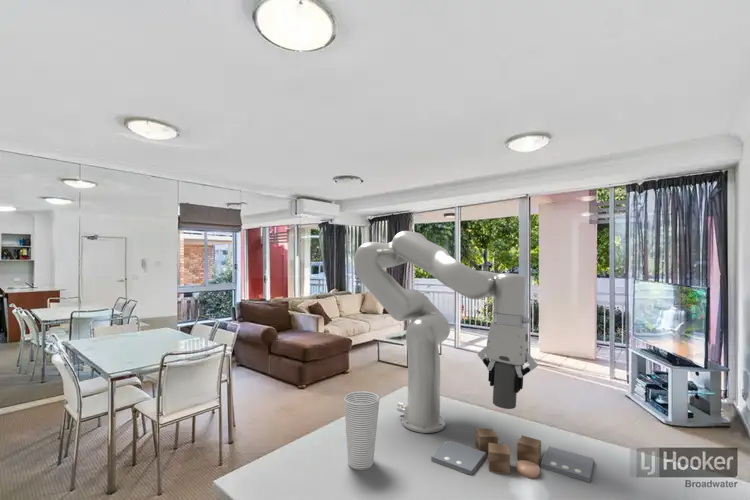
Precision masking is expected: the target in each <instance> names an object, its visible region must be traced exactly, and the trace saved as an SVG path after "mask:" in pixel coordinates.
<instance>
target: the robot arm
mask: <svg viewBox="0 0 750 500" xmlns="http://www.w3.org/2000/svg"><path fill="white" fill-rule="evenodd" d="M353 259H354V260H353V265H354V267H353V268H354V271H355V273H356V276H357V277H358V279H359V281H360V282H361V283H362V285H364V287H365V288H366V289H368V291H369V292H370V293H371V294H372V295H373V297H374V298H375V299H376V300H377V301H378V302H379V304H380V305H381V307H383V309H385V311H386V312H387V313H388V314H389V316H390V317H392V318H393V320H395V321H397V322H406V321H409V320H410V323H409V324H408V326H407V327H406V331H405V341H406V347H407V348H406V349H407V404H406V403H405V402H401V401H399V402H398V403H397V408H396V410H397V412H399V413H403V416H402V420H401V421H402V422H401V423H402V425H403V426H404V427H405V428H406V429H408V430H410V431H413V432H416V433H423V434H433V433H437V432H440V431H443V430H444V428H445V427H446V420H445V419H444V418H443V416H441V357H440V352H439V344H441V343H443V342H444V341H445V340H447V339H448V338H449V335H450V333H451V326H450V322H449V321H448V319H447V317H446V316H445V315H444V314H443V313H442V312H441V311H440V310H439V308H437V306H436V305H434V304H433V302H431V300H430V299H429V298H428V297H427V296H426V295H425V294H424V293H422V292H421V291H420V290H417V289H412V288H410V289H406V288H404V287H403V286H401V284H400V283H398V281H396V279H395V278H394V277H393V276H392V275H391V274H390V273H389V272H387V271H386V270H385V269H388V268H394V267H397V266H399V265H403V264H406V263H411V264H412V265H414V266H416V267H417V268H420V269H422V270H423V271H425V272H427V273H429V274H430V275H431V276H432V277H434V279H436V280H437V281H439V282H440V283H441V284H443V285H444V286H446V287H448V288H449V289H450V290H453V291H455V292H456V293H458V294H460V295H461V296H463V297H465V298H467V299H470V300H482V299H486V298H494V301H493V303H494V304H493V305H494V306H493V320H492V322H490V326H489V329H488V334H487V341H486V346H485V347H484V348H483V349H481V350H480V351H478V353H477V356H478V357H479V359H480V360H481V361H482V362H483V364H484V365H485V367H486V368H487V370H488V377H487V378H488V382H489V386H491V387H493V385H494V367H495V363H496V362H504V363H507V364H510V365H515V368H516V372H517V376H516V377H515V392H517V393H520V391H521V390H523V387H524V376H525V375H527V374H528V373H530V372H531V371H533V370H535V369H536V368H537V367H538V363H537V362H536V361H535V359H534V358H533V357H532V355H531V354H530V352H529V334H528V328H527V326H526V325H525V324H530V318H527V317H526V316H525V297H526V278H525V276H524V275H523V274H520V273H510V272H509V273H508V272H507V273H505V272H503V273H502V272H500V273H498V272H493V271H487V270H476V269H474V268H471V267H470V266H468V265H466V264H463V263H462V262H460V261H459V260H456V259H455V258H454V257H452V256H451V255H450V254H449V251H448V250H447V249H446V248H444V247H442V246H440V245H438V244H436V243H434V242H432V241H430V240H428V239H427V238H426V236H424V234H422V233H420V232H416V231H411V230H402V231H399V232H398V233H396V234H395V235H394V236H393V239H392V240H391V241H390V242H379V241H378V242H377V241H367V242H365V243H362V244H361V245H360V246H358V248H357V249H356V252H355V253H354V258H353ZM499 356H504V357H508V358H509V360H510V361H504V360H501V359H499ZM526 363H528V364H529V365H528V366H526V367H524V365H525V364H526Z"/></svg>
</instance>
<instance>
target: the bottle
mask: <svg viewBox="0 0 750 500" xmlns="http://www.w3.org/2000/svg"><path fill="white" fill-rule="evenodd" d="M499 359H501V360H504V361H510V360H509V358H508V357H504V356H499ZM516 376H517V372H516V368H515V365H510V364H507V363H504V362H496V363H495V367H494V385H493V386H492V387H493V389H492V390H493V391H492V404H493V405H494V406H495V407H498V408H501V409H505V410H513V409H515V408H517V396H518V395H517V392H515V377H516Z"/></svg>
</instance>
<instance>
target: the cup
mask: <svg viewBox="0 0 750 500" xmlns="http://www.w3.org/2000/svg"><path fill="white" fill-rule="evenodd" d="M343 402H344V419H345V421H344V422H345V433H346V435H345V437H346V448H347V450H346V452H347V453H346V454H347V464H348V466H349V467H350V468H351V469H354V470H359V471H365V470H367V469H370V468H371V467H372V466H373V465H374V460H375V450H376V448H375V447H376V442H377V441H376V438H377V428H378V419H379V408H380V396H379V394H377V393H376V392H372V391H368V390H355V391H350V392H348V393H346V394H345V395H344V397H343Z"/></svg>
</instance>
